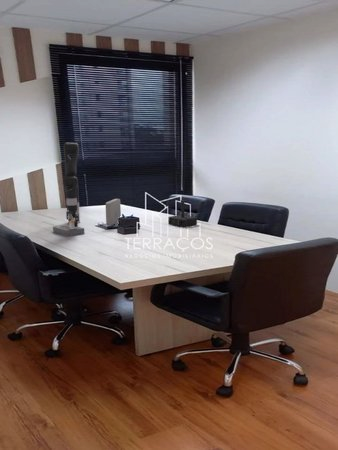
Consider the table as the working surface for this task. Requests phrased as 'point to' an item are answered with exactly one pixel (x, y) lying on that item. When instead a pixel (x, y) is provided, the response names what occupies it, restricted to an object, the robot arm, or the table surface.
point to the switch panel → (68, 230)
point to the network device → (113, 211)
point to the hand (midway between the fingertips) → (73, 226)
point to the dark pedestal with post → (182, 218)
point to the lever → (72, 224)
